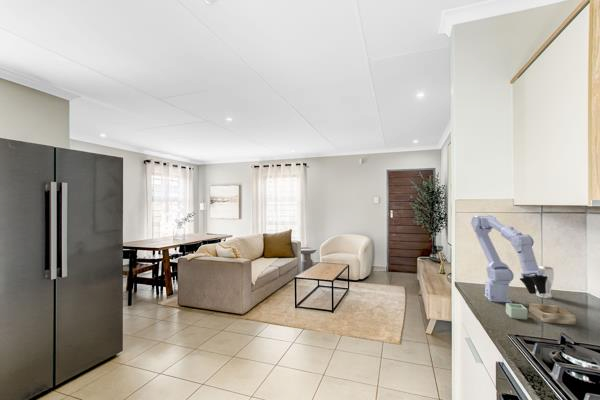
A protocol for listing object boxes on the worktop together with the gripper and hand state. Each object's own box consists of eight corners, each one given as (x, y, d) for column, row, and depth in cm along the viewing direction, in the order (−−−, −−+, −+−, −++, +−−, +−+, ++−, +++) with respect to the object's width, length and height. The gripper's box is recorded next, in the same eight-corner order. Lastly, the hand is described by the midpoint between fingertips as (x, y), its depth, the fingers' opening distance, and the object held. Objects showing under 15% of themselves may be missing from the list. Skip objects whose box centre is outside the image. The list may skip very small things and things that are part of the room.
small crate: (511, 318, 123) (511, 307, 123) (505, 312, 128) (506, 303, 127) (527, 319, 121) (527, 309, 121) (521, 314, 126) (521, 304, 126)
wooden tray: (542, 321, 119) (542, 313, 119) (528, 310, 130) (529, 303, 129) (575, 324, 117) (576, 316, 116) (558, 313, 127) (559, 305, 127)
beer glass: (548, 294, 149) (549, 266, 148) (555, 299, 142) (556, 270, 142) (532, 292, 151) (533, 265, 150) (538, 297, 145) (539, 268, 144)
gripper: (547, 259, 119) (558, 293, 115) (529, 262, 132) (538, 293, 128) (528, 260, 120) (538, 293, 116) (512, 263, 134) (521, 294, 129)
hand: (537, 293), depth 122 cm, fingers open, 7 cm apart
